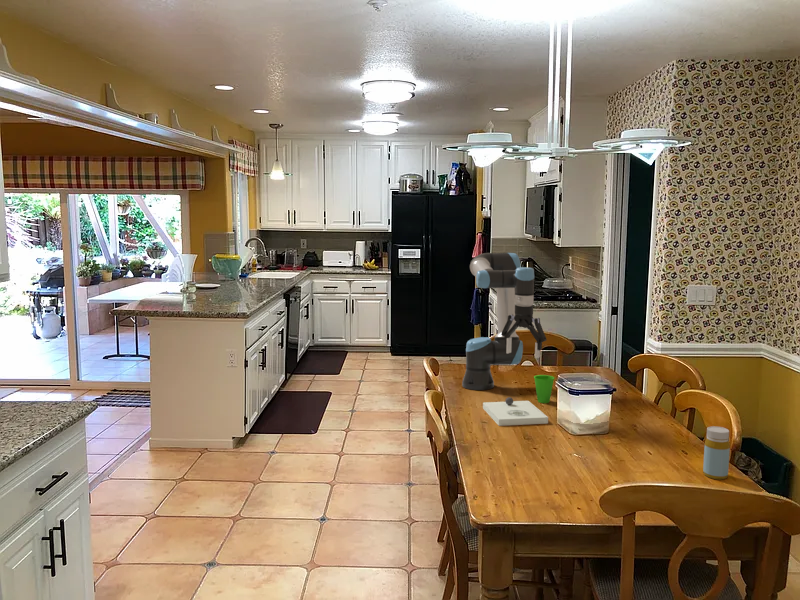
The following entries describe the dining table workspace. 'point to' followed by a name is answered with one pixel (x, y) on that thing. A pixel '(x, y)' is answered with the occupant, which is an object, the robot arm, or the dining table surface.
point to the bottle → (716, 453)
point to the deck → (515, 413)
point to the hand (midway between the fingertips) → (522, 355)
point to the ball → (509, 400)
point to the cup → (543, 387)
